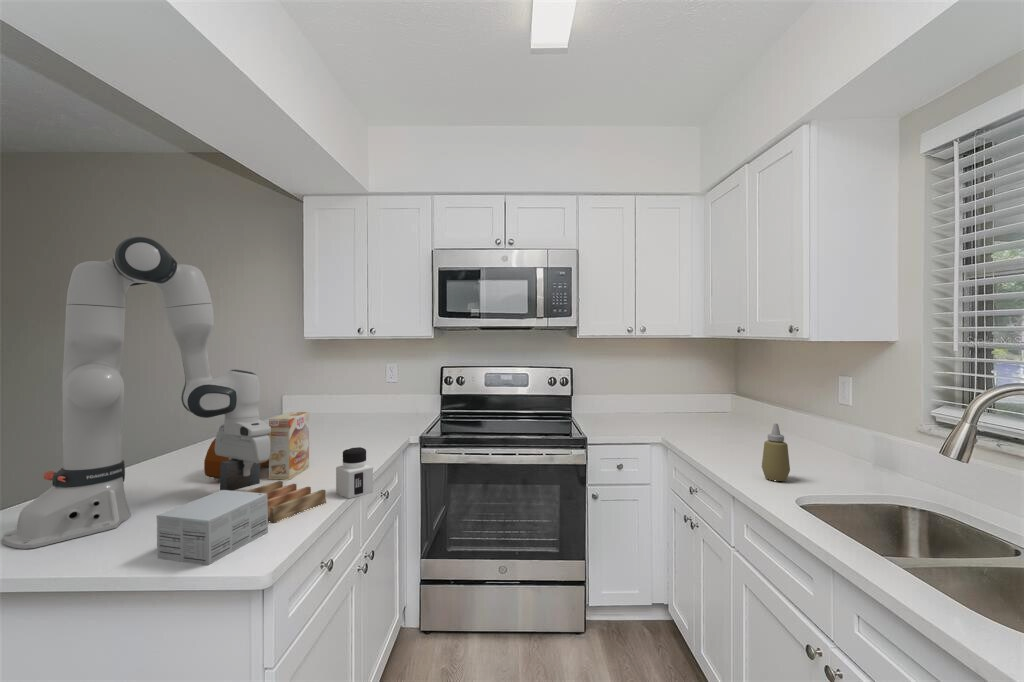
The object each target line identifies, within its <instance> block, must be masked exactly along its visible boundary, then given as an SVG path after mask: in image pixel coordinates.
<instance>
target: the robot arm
mask: <svg viewBox="0 0 1024 682" xmlns="http://www.w3.org/2000/svg"><path fill="white" fill-rule="evenodd" d="M147 284H151V285H152V286H155V287H156V288H157V290H158V291H159V293H160V295H161V299H162V306H163V310H164V315H165V318H166V322H167V324H168V326H169V329H170V331H171V334H172V336H173V337H174V340H175V341H176V343H177V346H178V347H179V351H180V355H181V359H182V360H181V361H182V366H183V371H184V377H185V378H184V379H185V380H184V381H185V382H184V386H183V389H182V392H181V397H180V398H181V399H180V400H181V404H182V406H183V407H184V408H185V410H186V411H188V412H189V413H192V414H193V415H194V416H196V417H199V418H202V419H203V418H205V419H209V418H214V417H217V416H222V415H224V423H222V424H221V425H219V427H218V431H217V433H216V436H215V438H216V440H215V454H216V455H218V456H223V457H228V458H229V460H232V459H238V460H243V464H245V465H244V468H243V469H242V470H241V475H242V476H249V475H250V469H251V467H252V465H253V463H262V462H266V461H268V459H269V457H270V437H269V436H268V435H267V434H270V433H271V427H270V426H269V424H267V423H266V422H264V421H263V420H262V419H260V416H261V413H260V410H259V405H260V402H261V383H260V378H259V376H258V374H256V373H254V372H253V371H249V370H242V369H230V370H228V371H227V372H226V373H224V374H222V375H220V376H217V377H216V378H214V377H212V372H211V366H210V361H209V360H210V359H209V353H208V344H209V343H208V342H209V338H210V337H211V334H212V333H213V330H214V326H215V313H214V306H213V305H214V304H213V301H212V297H211V292H210V289H209V287H208V283H207V281H206V278H205V276H204V273H203V272H202V270H201V269H199V268H198V267H197V266H194V265H190V264H185V263H181V264H180V263H179V264H178V262H177V260H176V259H175V258H174V257H173V256H172V255H171V254H170V252H168V250H167V249H166V248H165V247H164V246H163V245H162V244H160V242H158V241H156V240H154V239H153V238H150V237H146V236H145V237H144V236H132V237H129V238H126V239H124V240H122V242H120V243H119V244H118V245H117V247H116V248H115V251H114V252H113V255H112V257H111V258H110V259H109V260H104V261H99V260H89V261H84V262H80V263H78V264H77V265H76V266H75V267H74V268H73V270H72V272H71V276H70V280H69V283H68V288H67V294H66V303H65V304H66V305H65V320H64V321H65V322H64V325H65V326H64V344H63V347H64V348H63V366H62V367H63V368H62V382H61V383H62V385H61V386H62V389H61V390H62V468H60V469H59V470H57V471H56V472H55V471H53V470H47V471H45V472H44V473H43V475H42V478H43V479H44V480H46V481H52V486H51V487H50V488H48V489H47V490H46V491H44V492H42V493H41V494H40V495H39V496H38V497H36V498H35V499H34V500H32V501H31V502H29V503H28V504H27V505H25V506H24V507H23V508H22V509H21V510H20V513H19V514H18V515H19V516H18V519H17V524H16V527H15V529H14V530H10V531H8V532H6V533H4V534H3V537H2V543H3V544H4V545H5V546H8V547H10V548H13V549H24V550H25V549H28V550H29V549H35V548H40V547H44V546H47V545H52V544H55V543H60V542H64V541H68V540H72V539H76V538H81V537H84V536H89V535H93V534H96V533H97V534H98V533H100V532H105V531H109V530H113V529H116V528H117V527H119V526H120V525H121V524H122V523H123V522H125V521H126V520H128V519H129V518H130V517H131V515H132V513H131V511H130V509H129V506H128V505H129V504H128V502H127V498H126V492H125V484H124V482H125V477H126V467H125V460H123V425H124V423H123V421H124V405H125V399H124V398H125V383H124V379H123V377H122V375H121V369H122V358H123V351H124V341H125V327H126V326H125V325H126V323H125V322H126V299H127V292H128V289H129V288H130V287H133V286H139V285H147Z"/></svg>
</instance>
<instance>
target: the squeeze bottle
mask: <svg viewBox="0 0 1024 682" xmlns="http://www.w3.org/2000/svg"><path fill="white" fill-rule="evenodd" d="M762 451H763V452H762V460H761V468H762V472H763V475H764V478H765V479H766V478H767V479H770V480H769V481H771V480H776V481H784V482H786V481H787V480H788V478H789V474H790V472H791V465H790V457H789V447H788V443H786V442H785V435H784V434H781V431H780V426H779V424H778V423H773V425H772V429H771V433H768V434H767V440H766V441H764V443H763V450H762ZM767 479H766V480H767ZM785 480H786V481H785Z"/></svg>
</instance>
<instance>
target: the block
mask: <svg viewBox="0 0 1024 682" xmlns="http://www.w3.org/2000/svg"><path fill="white" fill-rule="evenodd" d="M244 465H245V464H243V460H238V459H232V460H227V461H222V462H221V467H220V480H219V491H220V490H230V491H238V490H240V489H243V488H247V487H252V486H256V485H259V484H260V483H261V468H260V463H253V465H252V467H251V469H250V475H249V476H242V475H241V470H242V469H243V468H244ZM260 485H261V484H260Z"/></svg>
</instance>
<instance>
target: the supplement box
mask: <svg viewBox="0 0 1024 682" xmlns="http://www.w3.org/2000/svg"><path fill="white" fill-rule="evenodd" d="M267 533H269V521H268V501H267V494H265V493H253V492H244V491H238V490H233V491H230V490H220V489H219V491H216V492H213V493H211V494H208V495H205V496H203V497H200V498H198V499H196V500H192V501H190V502H188V503H185V504H183V505H180V506H178V507H176V508H173V509H170V510H168V511H165V512H162V513H159V514H157V515H156V543H157V544H156V545H157V546H156V547H157V548H156V552H157V553H156V555H157V558H156V559H160V560H166V561H172V562H179V563H180V562H182V563H188V564H194V565H195V564H196V565H202V566H203V565H204V566H210V565H211V564H212V565H213V563H215V562H217V561H218V560H221V559H223V558H224V557H225V556H227V555H229V554H231V553H233V552H235V551H236V550H239V549H240V548H242V547H244V546H245V545H247V544H249V543H251V542H253V541H254V540H257V539H258V538H260V537H261V536H263V535H266V534H267Z"/></svg>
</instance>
